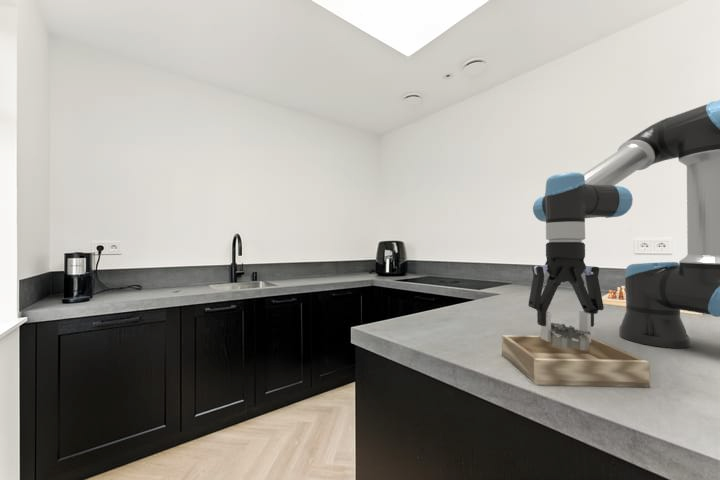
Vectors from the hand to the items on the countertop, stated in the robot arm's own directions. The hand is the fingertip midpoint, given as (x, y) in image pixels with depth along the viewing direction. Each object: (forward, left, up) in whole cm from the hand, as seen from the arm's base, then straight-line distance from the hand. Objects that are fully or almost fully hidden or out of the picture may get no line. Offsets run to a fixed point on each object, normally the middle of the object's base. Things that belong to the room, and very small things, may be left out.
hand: (565, 340), depth 70 cm
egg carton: (0, 0, -1) cm, 1 cm away
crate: (0, 0, -7) cm, 7 cm away
